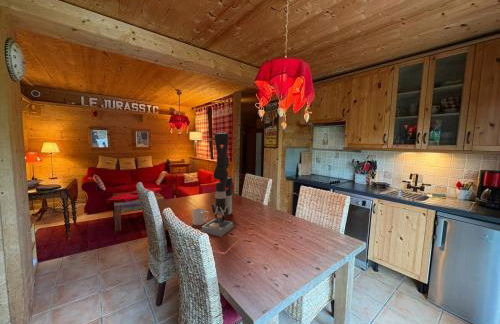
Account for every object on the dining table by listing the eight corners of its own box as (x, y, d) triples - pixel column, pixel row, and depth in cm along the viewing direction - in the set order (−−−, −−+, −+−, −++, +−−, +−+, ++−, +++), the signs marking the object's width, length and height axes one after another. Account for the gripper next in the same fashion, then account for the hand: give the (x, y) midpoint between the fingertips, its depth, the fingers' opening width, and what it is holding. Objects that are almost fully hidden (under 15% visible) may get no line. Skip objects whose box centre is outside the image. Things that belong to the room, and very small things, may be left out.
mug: (192, 226, 155) (192, 212, 154) (192, 222, 164) (192, 208, 163) (208, 225, 158) (208, 211, 157) (208, 221, 167) (208, 207, 166)
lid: (213, 223, 148) (213, 222, 148) (219, 224, 146) (219, 223, 146) (209, 225, 143) (209, 225, 143) (215, 227, 141) (215, 226, 141)
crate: (215, 224, 160) (215, 218, 159) (233, 228, 154) (233, 222, 153) (201, 233, 144) (201, 226, 144) (221, 238, 138) (221, 230, 138)
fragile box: (213, 229, 148) (213, 223, 148) (219, 231, 146) (219, 224, 146) (209, 232, 143) (209, 225, 143) (215, 234, 142) (215, 227, 141)
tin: (219, 219, 155) (219, 209, 154) (225, 220, 153) (225, 210, 152) (215, 221, 150) (215, 211, 149) (221, 223, 148) (221, 212, 147)
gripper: (231, 197, 151) (231, 219, 152) (215, 194, 156) (214, 216, 158) (226, 199, 144) (226, 222, 145) (209, 196, 149) (209, 219, 151)
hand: (220, 219), depth 151 cm, fingers closed on tin, 5 cm apart
